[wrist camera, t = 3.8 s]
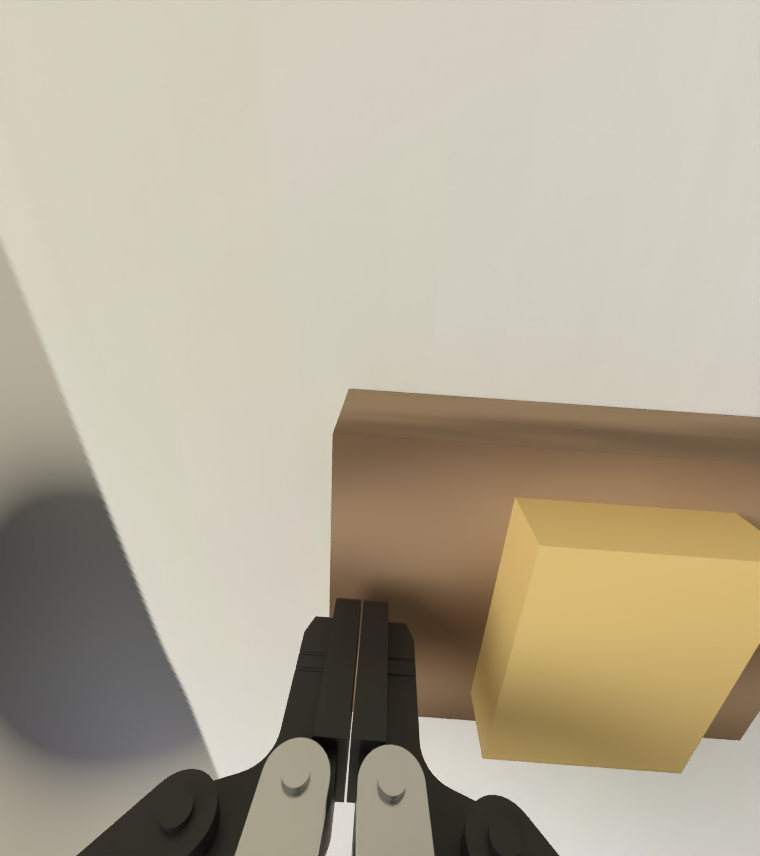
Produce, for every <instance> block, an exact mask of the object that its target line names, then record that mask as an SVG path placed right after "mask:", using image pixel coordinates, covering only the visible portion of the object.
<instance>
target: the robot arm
mask: <svg viewBox="0 0 760 856" xmlns="http://www.w3.org/2000/svg"><path fill="white" fill-rule="evenodd" d="M360 614H361V600H360V599H348V598H336V603H335V608H334V614H333V618H329V617H317V616H316V617H315V618H314V620H313V621H312V622H311V624H310V625H309V626H308V628H307V629H306V630H305V632H304V636H303V640H302V644H301V648H300V654H299V657H298V661H297V665H296V670H295V673H294V677H293V681H292V685H291V689H290V694H289V698H288V702H287V706H286V710H285V714H284V718H283V722H282V727H281V731H280V734H279V737H278V739H277V741H276V743H275V745H274V747H273V748H272V750H271V751H270V752H269V754H268V755H267V756H266V757H265V758H264V759H263V760H262V761H261V762H259V763H258V764H257V765H255V766H254V767H252V768H250V769H248V770H246V771H243V772H240V773H237V774H234V775H231V776H228V777H224V778H221V779H218V780H215V781H213V779H211V777H210V776H209V775H208V774H206V773H205V772H203V771H201V770H196V769H187V770H183V771H180V772H177V773H175V774H173V775H171V776H169V777H168V778H166V779H165V780H164V781H162V782H161V783H160V784H159V785H157V786H156V787H155V788H154V789H153V790H152V791H151V792H149V793H148V794H147V795H146V796H145V797H144V798H143V799H141V800H140V801H139V802H138V803H137V804H136V805H134V806H133V807H132V808H131V809H130V810H129V811H128V812H127V813H125V814H124V815H123V816H122V817H121V818H120V819H118V820H117V821H116V822H115V823H114V824H113V825H112V826H110V827H109V828H108V829H107V830H106V831H105V832H103V833H102V834H101V835H100V836H99V837H98V838H96V839H95V840H94V841H93V842H92V843H91V844H90V845H88V846H87V847H86V848H85V849H84V850H83V851H82V852H80V853H79V854H78V855H77V856H326V854H327V850H328V847H329V843H330V838H331V831H332V822H333V813H334V803H335V802H344V794H345V784H346V773H347V762H348V752H349V741H350V730H351V719H352V709H353V698H354V687H355V676H356V666H357V655H358V643H359V629H360ZM347 802H350V803H355V813H354V827H353V842H352V856H559V855H558V854H557V852H556V851H555V850H554V849H553V847H552V846H551V845H550V844H549V842H548V841H547V840H546V839H545V837H544V836H543V835H542V834H541V833H540V831H539V830H538V829H537V828H536V826H535V825H534V824H533V823H532V821H531V820H530V819H529V818H528V816H527V815H526V814H525V813H524V812H523V811H522V810H521V808H519V807H518V806H517V805H516V804H515V803H513V802H512V801H510V800H509V799H506V798H504V797H502V796H497V795H488V796H484V797H482V798H480V799H478V800H477V801H474V800H472V799H470V798H468V797H466V796H464V795H462V794H460V793H458V792H456V791H454V790H452V789H450V788H449V787H447V786H445V785H444V784H442V783H441V782H440V781H439V780H438V779H437V778H436V777H435V776H434V775H433V774H432V773H431V771H430V770H429V768H428V767H427V765H426V763H425V761H424V758H423V756H422V752H421V749H420V741H419V722H418V704H417V685H416V666H415V647H414V639H413V637H412V635H411V633H410V631H409V629H408V627H407V625H406V623H394V622H388V601H375V600H364V601H363V612H362V623H361V634H360V645H359V656H358V667H357V678H356V689H355V701H354V712H353V723H352V734H351V747H350V762H349V776H348V791H347Z"/></svg>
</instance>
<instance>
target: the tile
mask: <svg viewBox="0 0 760 856" xmlns="http://www.w3.org/2000/svg"><path fill="white" fill-rule="evenodd" d="M759 644H760V530H758V529H757V528H756V527H754V526H753V525H752V524H750V523H749V522H747V521H746V520H745V519H743V518H742V517H741V516H739V515H738V514H737V513H726V512H712V511H698V510H684V509H670V508H656V507H642V506H628V505H614V504H600V503H586V502H571V501H557V500H543V499H529V498H515V500H514V504H513V509H512V513H511V517H510V522H509V526H508V531H507V535H506V539H505V544H504V548H503V553H502V557H501V561H500V566H499V570H498V575H497V579H496V583H495V588H494V592H493V597H492V601H491V605H490V610H489V614H488V619H487V623H486V628H485V632H484V636H483V641H482V645H481V650H480V654H479V658H478V663H477V667H476V672H475V676H474V680H473V685H472V689H471V697H472V702H473V708H474V714H475V719H476V725H477V730H478V736H479V741H480V747H481V753H482V758H483V759H496V760H509V761H523V762H536V763H549V764H563V765H576V766H589V767H603V768H616V769H629V770H642V771H656V772H669V773H681V772H682V771H683V769H684V767H685V766H686V764H687V762H688V761H689V759H690V757H691V756H692V754H693V752H694V751H695V749H696V747H697V746H698V744H699V742H700V741H701V739H702V738H703V736H704V734H705V733H706V731H707V729H708V728H709V726H710V724H711V723H712V721H713V719H714V718H715V716H716V714H717V713H718V711H719V709H720V708H721V706H722V705H723V703H724V701H725V700H726V698H727V696H728V695H729V693H730V691H731V690H732V688H733V686H734V685H735V683H736V681H737V680H738V678H739V677H740V675H741V673H742V672H743V670H744V668H745V667H746V665H747V663H748V662H749V660H750V658H751V657H752V655H753V653H754V652H755V650H756V648H757V647H758V645H759Z"/></svg>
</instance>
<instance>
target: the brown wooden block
mask: <svg viewBox="0 0 760 856" xmlns="http://www.w3.org/2000/svg"><path fill="white" fill-rule="evenodd" d="M515 498H529V499H543V500H557V501H571V502H586V503H600V504H614V505H628V506H642V507H656V508H670V509H684V510H698V511H712V512H726V513H737V514H738V515H739V516H741V517H742V518H743V519H745V520H746V521H747V522H749V523H750V524H752V525H753V526H754V527H756V528H757V529H758V530H760V417H746V416H732V415H717V414H703V413H689V412H674V411H660V410H645V409H631V408H617V407H602V406H588V405H574V404H559V403H545V402H531V401H516V400H502V399H488V398H473V397H459V396H444V395H430V394H416V393H401V392H387V391H373V390H358V389H349V390H348V393H347V396H346V399H345V401H344V404H343V407H342V410H341V413H340V415H339V418H338V421H337V424H336V427H335V429H334V432H333V448H332V504H331V560H330V616H329V618H333V614H334V608H335V603H336V598H348V599H360V600H361V614H360V629H359V643H358V655H357V666H356V676H355V687H354V698H353V709H352V712H354V701H355V689H356V678H357V667H358V656H359V645H360V634H361V623H362V612H363V601H364V600H375V601H388V622H394V623H406V625H407V627H408V629H409V631H410V633H411V635H412V637H413V639H414V647H415V666H416V685H417V704H418V716H419V717H433V718H446V719H460V720H473V721H476V719H475V714H474V708H473V702H472V697H471V689H472V685H473V680H474V676H475V672H476V667H477V663H478V658H479V654H480V650H481V645H482V641H483V636H484V632H485V628H486V623H487V619H488V614H489V610H490V605H491V601H492V597H493V592H494V588H495V583H496V579H497V575H498V570H499V566H500V561H501V557H502V553H503V548H504V544H505V539H506V535H507V531H508V526H509V522H510V517H511V513H512V509H513V504H514V500H515ZM759 711H760V644H759V645H758V647H757V648H756V650H755V652H754V653H753V655H752V657H751V658H750V660H749V662H748V663H747V665H746V667H745V668H744V670H743V672H742V673H741V675H740V677H739V678H738V680H737V681H736V683H735V685H734V686H733V688H732V690H731V691H730V693H729V695H728V696H727V698H726V700H725V701H724V703H723V705H722V706H721V708H720V709H719V711H718V713H717V714H716V716H715V718H714V719H713V721H712V723H711V724H710V726H709V728H708V729H707V731H706V733H705V734H704V736H703V738H714V739H728V740H740V739H741V738H742V736H743V735H744V733H745V732H746V730H747V729H748V727H749V726H750V724H751V723H752V721H753V720H754V718H755V717H756V715H757V714H758V712H759Z"/></svg>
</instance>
